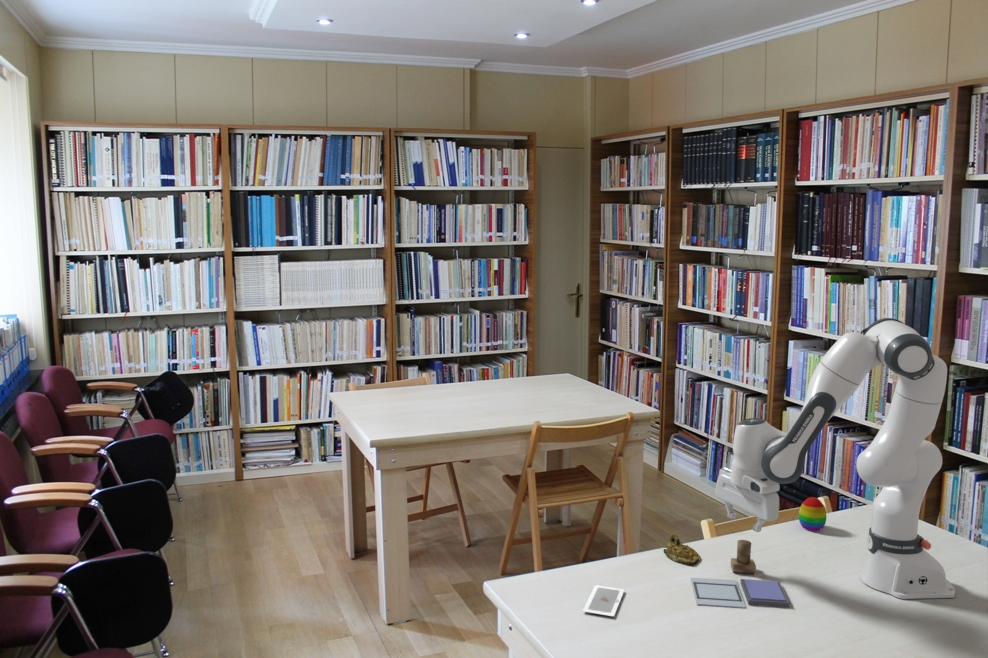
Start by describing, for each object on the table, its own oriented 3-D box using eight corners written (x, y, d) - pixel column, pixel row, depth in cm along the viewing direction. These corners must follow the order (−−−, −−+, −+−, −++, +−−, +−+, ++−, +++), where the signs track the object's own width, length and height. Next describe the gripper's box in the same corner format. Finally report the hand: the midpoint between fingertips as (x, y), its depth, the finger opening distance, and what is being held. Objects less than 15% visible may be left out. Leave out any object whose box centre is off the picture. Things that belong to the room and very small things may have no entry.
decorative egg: (823, 534, 249) (825, 503, 247) (795, 529, 253) (797, 499, 251) (827, 526, 256) (829, 496, 254) (800, 521, 260) (802, 491, 258)
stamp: (752, 568, 225) (754, 540, 224) (755, 574, 221) (756, 546, 220) (730, 567, 226) (732, 539, 224) (732, 573, 222) (734, 544, 221)
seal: (707, 568, 228) (683, 546, 242) (710, 553, 227) (685, 532, 241) (678, 568, 225) (655, 546, 240) (680, 552, 225) (657, 531, 239)
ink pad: (779, 585, 214) (779, 580, 214) (789, 607, 203) (789, 601, 202) (740, 583, 216) (740, 578, 215) (748, 604, 204) (748, 599, 204)
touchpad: (582, 615, 199) (582, 607, 199) (595, 588, 213) (595, 581, 213) (613, 620, 197) (613, 612, 196) (624, 593, 211) (624, 585, 210)
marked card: (735, 581, 217) (735, 579, 217) (745, 608, 202) (745, 606, 202) (690, 578, 218) (690, 577, 218) (696, 604, 204) (696, 603, 204)
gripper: (711, 466, 226) (708, 512, 229) (767, 490, 209) (763, 540, 211) (728, 463, 229) (725, 509, 232) (784, 487, 212) (780, 536, 214)
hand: (743, 524), depth 221 cm, fingers open, 8 cm apart
